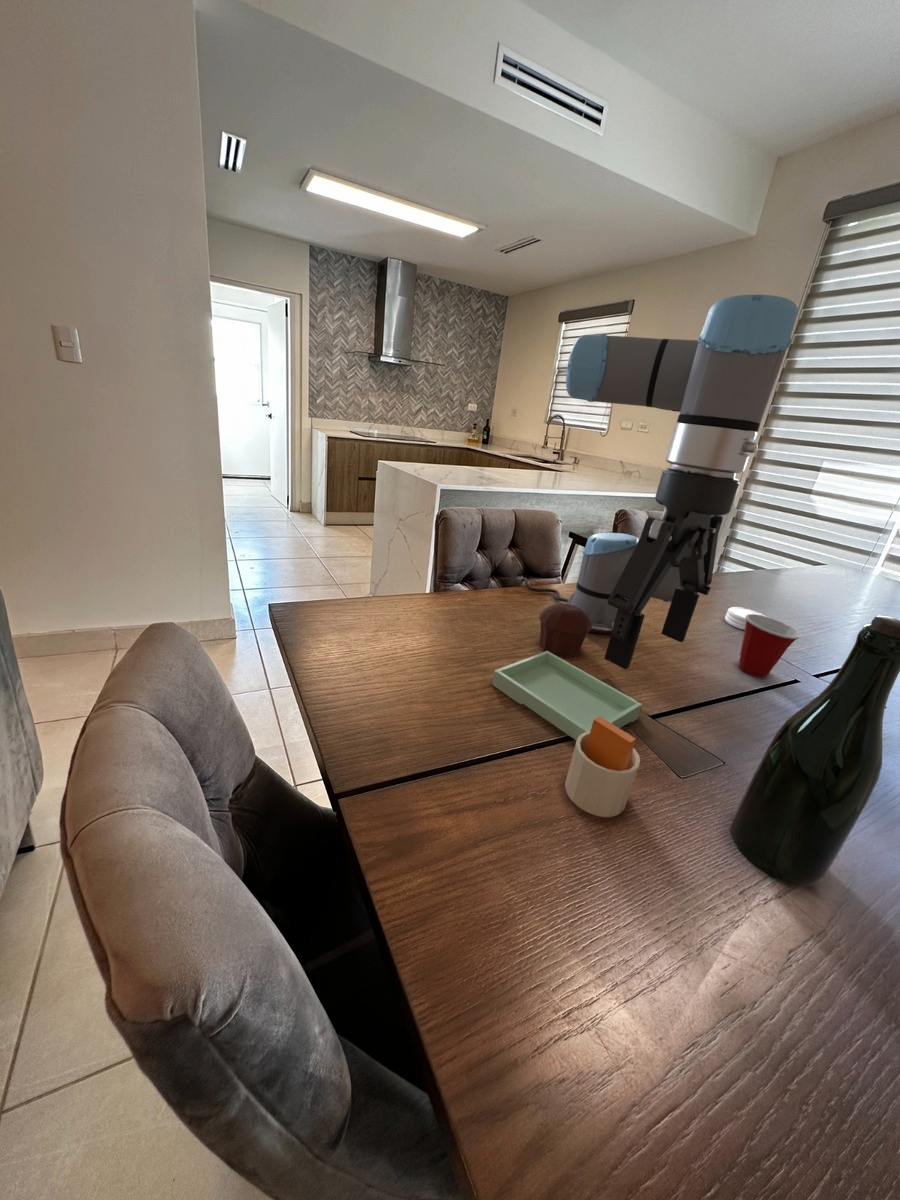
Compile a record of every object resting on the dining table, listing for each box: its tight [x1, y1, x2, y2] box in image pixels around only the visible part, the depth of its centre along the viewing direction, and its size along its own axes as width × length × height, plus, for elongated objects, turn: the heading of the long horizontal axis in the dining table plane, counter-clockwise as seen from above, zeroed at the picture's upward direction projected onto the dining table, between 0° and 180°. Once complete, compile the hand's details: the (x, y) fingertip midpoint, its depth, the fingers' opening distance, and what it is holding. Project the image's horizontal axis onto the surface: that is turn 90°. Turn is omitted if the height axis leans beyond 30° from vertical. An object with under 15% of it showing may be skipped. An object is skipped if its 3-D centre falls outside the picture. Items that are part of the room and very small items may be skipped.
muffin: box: [538, 602, 592, 658], centre depth 105 cm, size 12×11×10 cm
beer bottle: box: [729, 615, 900, 888], centre depth 54 cm, size 10×10×33 cm
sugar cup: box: [564, 731, 641, 818], centre depth 64 cm, size 8×8×8 cm
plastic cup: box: [738, 614, 803, 678], centre depth 105 cm, size 11×11×12 cm
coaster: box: [724, 606, 765, 631], centre depth 132 cm, size 10×10×4 cm
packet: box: [584, 716, 637, 771], centre depth 63 cm, size 6×1×11 cm, turn 40°
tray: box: [491, 650, 643, 742], centre depth 86 cm, size 22×16×3 cm
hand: (646, 649), depth 57 cm, fingers open, 13 cm apart
